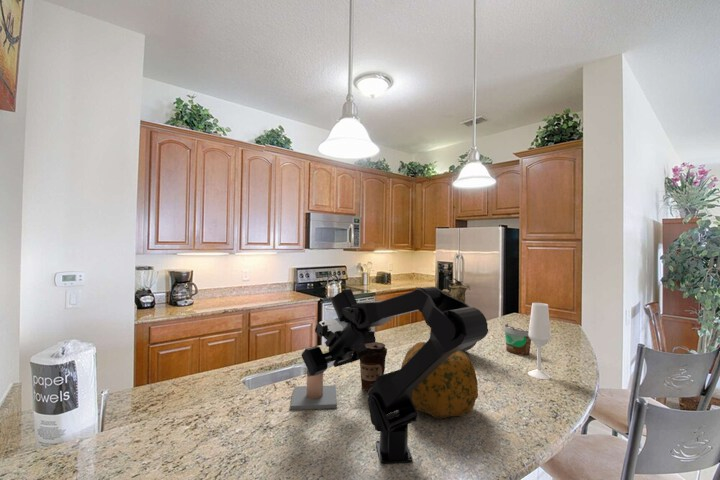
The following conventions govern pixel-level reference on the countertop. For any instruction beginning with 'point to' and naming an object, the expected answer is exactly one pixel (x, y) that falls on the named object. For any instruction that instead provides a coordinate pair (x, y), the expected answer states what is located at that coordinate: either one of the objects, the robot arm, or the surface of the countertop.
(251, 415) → the countertop surface
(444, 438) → the countertop surface
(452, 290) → the pitcher
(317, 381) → the terracotta canister
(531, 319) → the champagne flute
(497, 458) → the countertop surface
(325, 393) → the mat
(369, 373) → the coffee cup
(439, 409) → the decorative pumpkin
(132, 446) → the countertop surface
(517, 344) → the food container
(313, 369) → the robot arm
